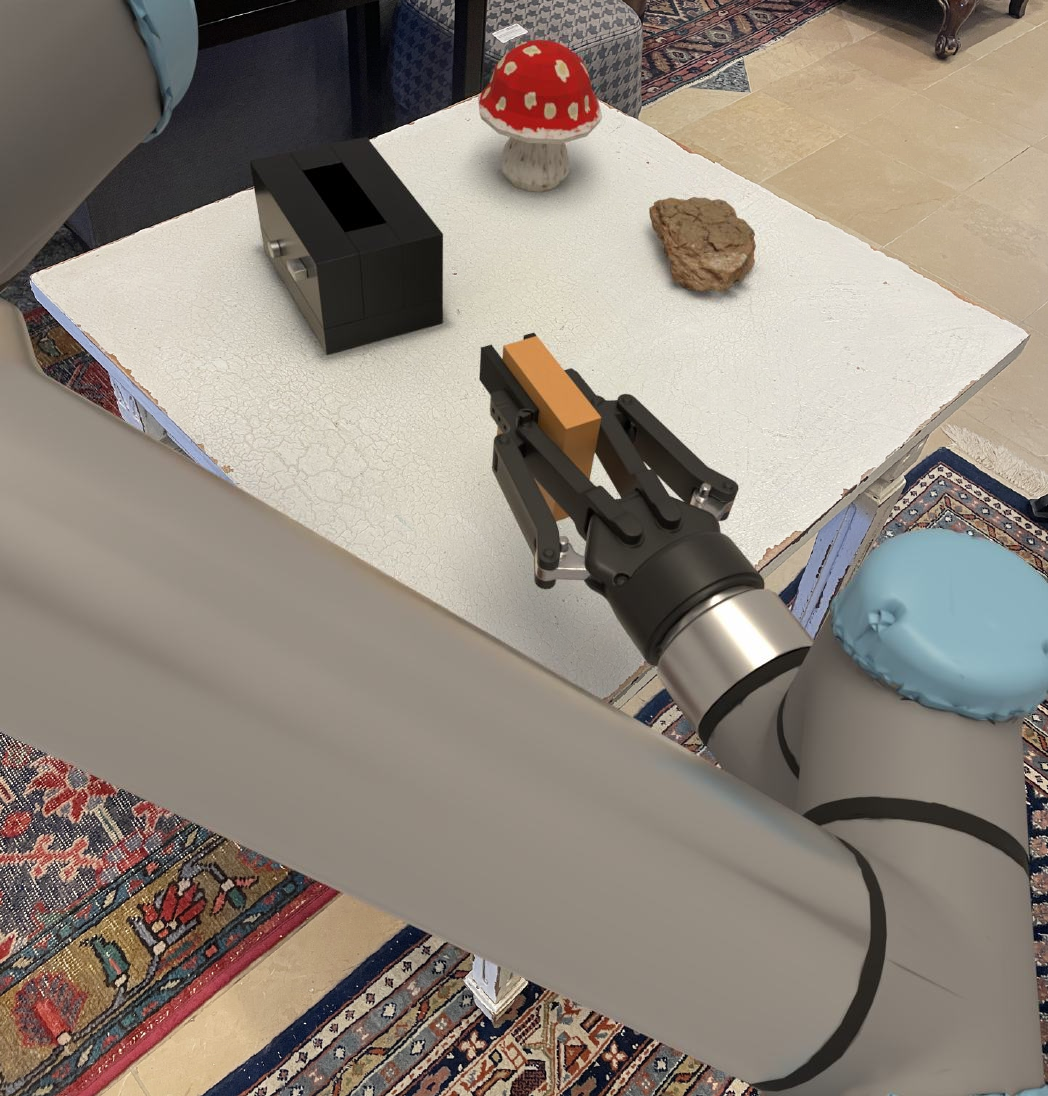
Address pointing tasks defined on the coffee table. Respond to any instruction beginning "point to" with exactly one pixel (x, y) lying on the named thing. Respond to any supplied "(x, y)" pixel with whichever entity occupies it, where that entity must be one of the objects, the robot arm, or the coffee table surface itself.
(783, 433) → the coffee table surface
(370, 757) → the robot arm
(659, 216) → the rock
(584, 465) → the toast
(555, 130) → the decorative mushroom
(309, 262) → the toaster
